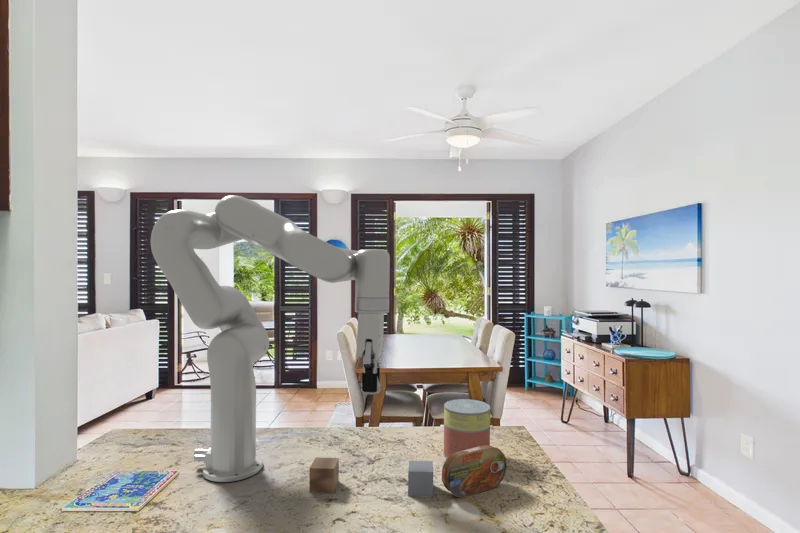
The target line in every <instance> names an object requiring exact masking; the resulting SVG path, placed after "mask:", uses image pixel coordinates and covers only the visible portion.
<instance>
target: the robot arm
mask: <svg viewBox="0 0 800 533" xmlns="http://www.w3.org/2000/svg"><path fill="white" fill-rule="evenodd" d="M242 240H244V241H246V242H247V243H249V244H252V245H254V246H255V247H258V248H259V249H262V250H264V251H266V252H268V253H270V254H271V255H273V256H274V257H276V258H278V259H280V260H282V261H284V262H286V263H288V264H289V265H291V266H293V267H294V268H297V269H299V270H300V271H303V272H304V273H307V274H309V275H310V276H312V277H315V278H316V279H319V280H321V281H324V282H327V283H331V284H335V283H342V282H347V281H348V282H349V281H355V283H354V284H355V286H354V292H355V294H354V295H355V297H354V312H355V313H356V314H357V313H358V318H357V329H356V330H357V332H356V353H355V354H356V355H355V357H356V359H357V360H361V358H362V373H361V389H362V391H363V392H376V391H377V377H378V380H379V383H380V380H381V379H380V377H381V375H380V374H381V373H380V372H381V371H380V370H381V367H380V357H381V355H382V352H383V347H384V346H383V345H384V332H385V331H384V329H385V328H384V326H385V325H384V323H385V321H384V318H385V315H384V314H388V313H390V280H391V279H390V278H391V277H390V275H391V274H390V270H391V267H390V265H391V262H390V261H391V257H390V256H391V255H390V253H389V252H388V250H385V249H382V248H381V249H377V248H368V249H367V248H365V249H359V250H354V249H348V248H343V247H339V246H335V245H333V244H331V243H330V242H326V240H323V239H321V238H319V237H317V236H315V235H312V234H310V233H308V232H306V231H305V230H303V229H302V228H300V226H298V225H297V224H296V223H295V221H293V220H291V219H289V218H287V217H285V216H283V215H281V214H279V213H276V212H275V211H272V210H270V209H268V208H266V207H264V206H262V205H261V204H259V203H258V202H257V201H254V200H251V199H249V198H246V197H244V196H241V195H233V194H232V195H231V194H230V195H226V196H224V197H222V198H221V199H220V200H219V201H218V202H217V204H216V205H215V208H214V212H210V213H206V214H205V213H202V212H201V213H200V212H197V211H193V210H189V209H188V210H187V209H174V210H169V211H167V212H165V213H163V214H162V215H161V216H160V217H158V219H157V220H156V221H155V224H154V225H153V227H152V231H151V235H150V248H151V253H152V256H153V258H154V260H155V262H156V264H157V266H158V267H159V268H160V270H161V272H162V273H163V275H164V277H165V278H166V280H167V281H168V282H169V284H170V286H171V288H172V290H173V291H174V293H175V295H176V297H177V298H178V300H179V302H180V303H181V305H182V306H183V308H184V310H185V312H186V313H187V315H188V316H189V318H190V320H191V321H192V323H193V324H194V325H195V326H196V327H198V328H200V329H202V330H213V329H216V328H218V329H219V330H220V332H219V333H218V334H216V335H215V336H214V337H213V338H212V339H211V341H210V343H209V345H208V348H207V351H206V357H207V358H206V361H207V367H208V372H209V382H210V445H209V446H210V447H209V448H195V449H194V452H193V456H194V457H193V458H194V459H193V461H194V462H204V463H205V464H204V466H203V467H202V477H204V478H205V479H206V480H208V481H211V482H215V483H216V482H217V483H229V482H231V483H232V482H237V481H241V480H244V479H247V478H250V477H252V476H254V475H256V474H257V473H260V471H261V470H262V469H263V460H264V459H263V458H262V457H261V456H259V455H258V454H256V450H257V449H256V448H257V444H256V443H257V441H256V439H257V432H256V431H257V429H256V428H257V385H256V382H257V381H256V377H255V373H254V372H255V371H254V364H255V363H256V362H257V361H260V360H261V359H262V358H263V357H264V356H266V354H267V352H268V351H269V347H270V337H269V334H268V332H267V330H266V328H265V326H264V325H263V323H262V320H261V319H260V318H259V316H258V315H257V313H256V312H255V310H254V308H253V306H252V305H251V303H250V301H249V300H248V299H247V297H246V296H245V294H244V293H242V291H240V290H239V289H238V288H236V287H233V286H232V285H231V286H230V285H220V284H219V283H218V281H217V280H216V279H215V277H214V276H213V274H212V273H211V271H210V268H209V267H208V265H206V262H204V261H203V260H202V258H200V256H199V255H198V254H197V253H196V252H195V250H210V249H211V250H212V249H216V248H219V247H220V248H221V247H223V246H226V245H229V244H232V243H235V242H239V241H242ZM371 356H374V359H371ZM377 359H379V361H378V362H377V366H378V367H377V373H376V361H377ZM371 361H373V363H371ZM380 384H381V383H380ZM362 391H361V392H362ZM363 392H362V393H363Z"/></svg>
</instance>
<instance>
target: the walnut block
mask: <svg viewBox="0 0 800 533" xmlns="http://www.w3.org/2000/svg"><path fill="white" fill-rule="evenodd" d="M339 462H340V459H339V457H315V458H314V459H313V461H312V463H311V465H310V466H309V488H308V489H309V490H308V492H309V493H316V494H317V493H321V494H323V493H324V494H335V490H336V489H337V486H338V484H339V481H340V480H339V478H340V477H339V476H340V475H339V473H340V469H339V468H340V465H339V464H340V463H339Z"/></svg>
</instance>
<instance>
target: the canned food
mask: <svg viewBox="0 0 800 533" xmlns="http://www.w3.org/2000/svg"><path fill="white" fill-rule="evenodd" d="M483 445H489V446H491V405H490V404H488V403H486V402H485V401H481V400H477V399H470V398H469V399H468V398H458V399H457V398H455V399H450V400H448V401H446V402H444V403H443V453H442V454H443V457H444V458H445V459H447V458H448V457H449V456H450V455H451V454H453V453H455V452H458V451H463V450H467V449H471V448H475V447H479V446H483Z"/></svg>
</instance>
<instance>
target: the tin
mask: <svg viewBox="0 0 800 533" xmlns="http://www.w3.org/2000/svg"><path fill="white" fill-rule="evenodd" d="M445 459H446V458H445ZM507 467H508V466H507V459H506V456H505V454H504V452H503V451H502V450H501V449H500V448H497V447H495V446H492V445H490V446H489V445H483V446H479V447H475V448H471V449H467V450H463V451H458V452H455V453H453V454H451V455H450V456H449V457H448V458H447V459H446V460H445V461H444V462H443V465H442V467H441V468H442V469H441V470H442V471H441V479H442V484H443V486H444V488H445V489H446V490H447V491H448V492H450V494H452V495H453V496H455V497H457V498H460V499H461V498H467V497H471V496H473V495H476V494H479V493H482V492H486V491H490V490H493V489H495V488H497V487H498V486H500V484H501V483H502V482H503V480H504V478H505V476H506V472H507Z"/></svg>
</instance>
